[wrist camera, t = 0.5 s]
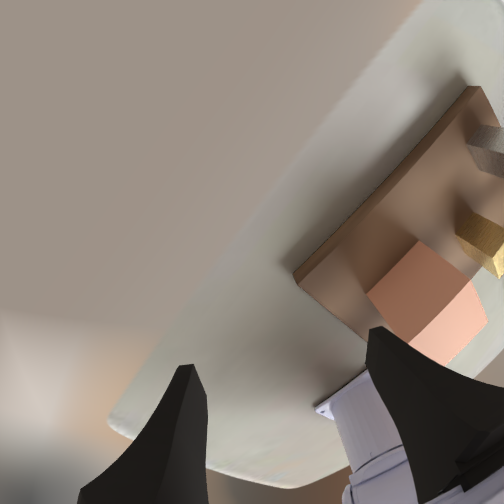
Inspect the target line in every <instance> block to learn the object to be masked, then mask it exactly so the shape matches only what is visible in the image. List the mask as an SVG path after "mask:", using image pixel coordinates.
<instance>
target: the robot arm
mask: <svg viewBox="0 0 504 504" xmlns="http://www.w3.org/2000/svg"><path fill="white" fill-rule="evenodd" d="M365 364H366V366H367V370H365V371H364V372H363V373H362V374H360V375H359V376H358V377H357V378H355V379H354V380H353V381H351V382H350V383H349V384H347V385H346V386H345V387H343V388H342V389H341V390H339V391H338V392H337V393H335V394H334V395H332V396H331V397H330V398H328V399H327V400H325V401H324V402H323V403H321V404H320V405H318V406H317V407H316V408H315V412H316V413H318V414H320V415H323V416H325V417H327V418H330V419H332V420H335V423H336V425H337V428H338V431H339V434H340V437H341V440H342V443H343V446H344V448H345V451H346V454H347V457H348V460H349V463H350V466H351V469H352V472H353V474H352V475H350V476H349V479H350V482H351V484H349V485H347V486H346V488H345V490H344V492H343V495H342V504H504V388H502V387H498V386H494V385H490V384H486V383H483V382H480V381H476V380H474V379H471V378H469V377H466V376H463V375H461V374H459V373H457V372H454V371H452V370H450V369H448V368H446V367H444V366H442V365H440V364H439V363H437V362H435V361H434V360H432V359H430V358H428V357H427V356H425V355H424V354H422V353H421V352H419V351H417V350H416V349H415V348H413V347H412V346H410V345H409V344H407V343H406V342H404V341H403V340H402V339H400V338H399V337H397V336H396V335H395V334H393V333H392V332H391V331H389V330H388V329H386V328H385V327H383V326H379V327H375V328H372V329H369V335H368V345H367V354H366V362H365ZM207 425H208V410H207V395H206V393H205V391H204V388H203V386H202V383H201V381H200V379H199V376H198V374H197V371H196V369H195V366H194V364H189V365H180V366H178V368H177V370H176V372H175V374H174V376H173V378H172V380H171V382H170V384H169V386H168V388H167V390H166V392H165V394H164V395H163V397H162V399H161V401H160V403H159V404H158V406H157V408H156V409H155V411H154V413H153V414H152V416H151V417H150V419H149V421H148V422H147V424H146V425H145V427H144V428H143V429H142V431H141V432H140V434H139V435H138V436H137V437H136V439H135V440H134V441H133V442H132V444H131V445H130V446H129V447H128V448H127V449H126V451H125V452H124V453H123V454H122V455H121V456H120V457H119V458H118V459H117V460H116V461H115V462H114V463H113V464H112V465H111V466H110V467H109V468H107V469H106V470H105V471H104V472H103V473H102V474H100V475H99V476H98V477H97V478H95V479H94V480H93V481H91V482H90V483H89V484H87V485H86V486H84V487H83V488H81V489H80V493H79V496H78V501H77V504H209V503H208V494H207V483H206V464H205V461H206V442H207Z"/></svg>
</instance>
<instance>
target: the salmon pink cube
mask: <svg viewBox="0 0 504 504" xmlns="http://www.w3.org/2000/svg"><path fill="white" fill-rule="evenodd" d="M366 295H367V297H368V298H369V299H370V300H371V302H372V303H373V304H374V306H375V307H376V309H377V310H378V311H379V313H380V314H381V315H382V317H383V318H384V319H385V321H386V322H387V323H388V325H389V326H390V328H391V329H392V330H393V332H394V333H395V335H396V336H397V337H399V338H400V339H402V340H403V341H404V342H406V343H407V344H409V345H410V346H412V347H413V348H415V349H416V350H417V351H419V352H421V353H422V354H424V355H425V356H427V357H428V358H430V359H432V360H434V361H435V362H437V363H439V364H440V365H442V366H445V365H446V364H447V363H449V362H450V361H451V360H452V359H453V358H454V357H455V356H456V355H457V354H458V353H459V352H460V351H461V350H462V349H463V348H464V347H465V346H466V345H467V344H468V343H469V342H470V341H471V340H472V339H473V338H474V337H475V336H476V335H477V334H478V332H479V331H480V330H481V329H482V328H483V327H484V326H485V325H486V324H487V323H488V319H487V317H486V314H485V312H484V309H483V307H482V304H481V302H480V300H479V297H478V295H477V293H476V290H475V288H474V286H473V284H472V281H471V279H469V278H468V277H467V276H466V275H464V274H463V273H462V272H461V271H459V270H458V269H457V268H455V267H454V266H453V265H452V264H450V263H449V262H448V261H446V260H445V259H444V258H442V257H441V256H440V255H438V254H437V253H436V252H434V251H433V250H432V249H430V248H429V247H428V246H426V245H425V244H423V243H422V242H421V241H418V242H417V243H416V244H415V245H414V246H413V247H412V248H411V249H410V251H409V252H408V253H407V254H406V255H405V256H404V257H403V258H402V259H401V260H400V261H399V262H398V263H397V264H396V265H395V266H394V267H393V268H392V269H391V270H390V271H389V272H388V273H387V274H386V275H385V276H384V277H383V278H382V279H381V280H380V281H379V282H378V283H377V284H376V285H375V286H374V287H373V288H372V289H371V290H370V291H369V292H368V293H367V294H366Z"/></svg>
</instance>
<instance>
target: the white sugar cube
mask: <svg viewBox="0 0 504 504" xmlns="http://www.w3.org/2000/svg"><path fill="white" fill-rule="evenodd" d="M466 145H467V147H468V149H469V151H470V153H471V155H472V157H473V159H474V161H475V163H476V165H477V167H478V170H480V171H483V172H486V173H488V174H491V175H494V176H497V177H500V178H503V179H504V128H501V127H495V126H489V125H483V124H481V125H480V127H479V128H478V129H477V131H476V132H475V133H474V135H473V136H472V137H471V138H470V140H469V141H468V142H467V144H466Z"/></svg>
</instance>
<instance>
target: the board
mask: <svg viewBox="0 0 504 504" xmlns="http://www.w3.org/2000/svg"><path fill="white" fill-rule="evenodd" d="M481 124H483V125H489V126H495V127H501V126H500V124H499V122H498V119H497V117H496V115H495V113H494V111H493V109H492V107H491V105H490V103H489V101H488V99H487V97H486V95H485V93H484V91H483V90H482V88H481V86H468V87H467V88H466V89H465V91H464V92H463V93H462V94H461V95H460V97H459V98H458V99H457V100H456V101H455V102H454V104H453V105H452V106H451V107H450V108H449V109H448V111H447V112H446V113H445V114H444V115H443V116H442V118H441V119H440V120H439V121H438V122H437V123H436V125H435V126H434V127H433V128H432V129H431V130H430V131H429V132H428V134H427V135H426V136H425V137H424V138H423V139H422V140H421V141H420V143H419V144H418V145H417V146H416V147H415V148H414V149H413V150H412V151H411V153H410V154H409V155H408V156H407V157H406V158H405V159H404V160H403V161H402V162H401V164H400V165H399V166H398V167H397V168H396V169H395V170H394V171H393V172H392V173H391V174H390V175H389V176H388V178H387V179H386V180H385V181H384V182H383V183H382V184H381V185H380V186H379V187H378V188H377V189H376V190H375V191H374V192H373V193H372V195H371V196H370V197H369V198H368V199H367V200H366V201H365V202H364V203H363V204H362V205H361V206H360V207H359V208H358V209H357V210H356V211H355V212H354V213H353V214H352V215H351V216H350V217H349V218H348V219H347V220H346V221H345V222H344V223H343V224H342V226H341V227H340V228H339V229H338V230H337V231H336V232H335V233H334V234H333V235H332V236H331V237H330V238H329V239H328V240H327V241H326V242H325V243H324V244H323V245H322V246H321V247H320V248H319V249H318V250H317V251H316V252H315V253H314V254H313V255H312V256H311V257H310V258H308V259H307V260H306V261H305V262H304V263H303V264H302V265H301V266H300V267H299V268H298V269H297V270H296V271H295V272H294V273H293V276H294V279H295V281H296V283H297V285H298V286H299V287H301V288H302V289H303V290H304V291H305V292H307V293H308V294H309V295H310V296H312V297H313V298H314V299H315V300H316V301H318V302H319V303H320V304H321V305H322V306H324V307H325V308H326V309H327V310H329V311H330V312H331V313H332V314H333V315H335V316H336V317H337V318H338V319H339V320H341V321H342V322H343V323H344V324H346V325H347V326H348V327H349V328H350V329H352V330H353V331H354V332H355V333H356V334H358V335H359V336H360V337H361V338H363V339H364V340H365V341H366V342H367V343H368V335H369V329H372V328H375V327H379V326H383V327H385V328H386V329H388V330H389V331H391V332H392V333H393V334H395V333H394V332H393V330H392V329H391V328H390V326H389V325H388V323H387V322H386V321H385V319H384V318H383V317H382V315H381V314H380V313H379V311H378V310H377V309H376V307H375V306H374V304H373V303H372V302H371V300H370V299H369V298H368V297H367V295H366V294H367V293H368V292H369V291H370V290H371V289H372V288H373V287H374V286H375V285H376V284H377V283H378V282H379V281H380V280H381V279H382V278H383V277H384V276H385V275H386V274H387V273H388V272H389V271H390V270H391V269H392V268H393V267H394V266H395V265H396V264H397V263H398V262H399V261H400V260H401V259H402V258H403V257H404V256H405V255H406V254H407V253H408V252H409V251H410V249H411V248H412V247H413V246H414V245H415V244H416V243H417V242H418V241H421V242H422V243H423V244H425V245H426V246H428V247H429V248H430V249H432V250H433V251H434V252H436V253H437V254H438V255H440V256H441V257H442V258H444V259H445V260H446V261H448V262H449V263H450V264H452V265H453V266H454V267H455V268H457V269H458V270H459V271H461V272H462V273H463V274H464V275H466V276H467V277H468V278H469V279H472V278H473V276H474V275H475V274H476V273H477V272H478V270H479V269H480V268H481V267H482V266H481V265H480V264H478V263H477V262H476V261H474V260H473V259H472V258H470V257H469V256H467V255H466V254H465V253H464V251H463V249H462V247H461V245H460V243H459V241H458V239H457V237H456V235H455V234H456V233H457V231H458V230H459V229H460V228H461V227H462V225H463V224H464V223H465V222H466V221H467V219H468V218H469V217H470V216H471V214H472V213H473V212H475V213H477V214H479V215H481V216H483V217H485V218H487V219H488V220H490V221H492V222H494V223H496V224H498V225H500V226H501V227H503V228H504V179H503V178H500V177H497V176H494V175H491V174H488V173H486V172H483V171H480V170H478V167H477V165H476V163H475V161H474V159H473V157H472V155H471V153H470V151H469V149H468V147H467V145H466V144H467V142H468V141H469V140H470V138H471V137H472V136H473V135H474V133H475V132H476V131H477V129H478V128H479V127H480V125H481Z"/></svg>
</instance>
